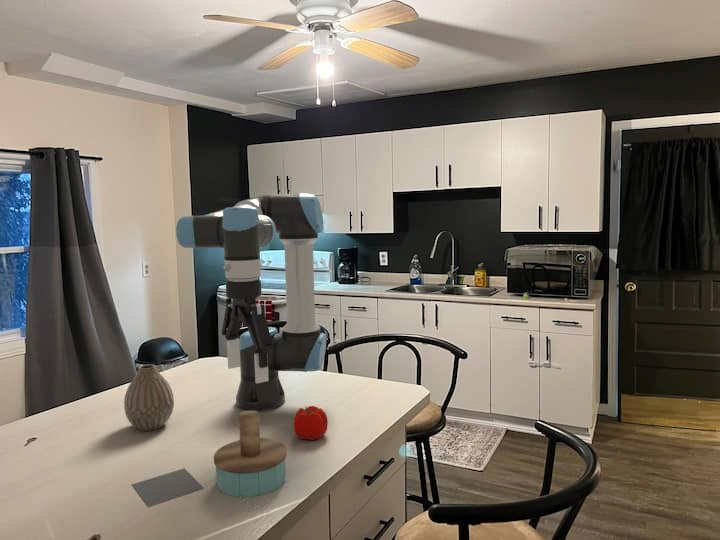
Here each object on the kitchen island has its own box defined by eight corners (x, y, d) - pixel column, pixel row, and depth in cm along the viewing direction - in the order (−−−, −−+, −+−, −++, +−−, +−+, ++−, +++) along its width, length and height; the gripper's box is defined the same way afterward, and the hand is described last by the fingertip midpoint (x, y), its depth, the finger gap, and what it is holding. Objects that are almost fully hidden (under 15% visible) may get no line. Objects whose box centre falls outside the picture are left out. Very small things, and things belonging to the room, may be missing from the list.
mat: (131, 486, 124) (131, 484, 124) (184, 469, 131) (184, 468, 131) (148, 508, 115) (147, 507, 115) (204, 489, 122) (204, 488, 122)
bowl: (207, 478, 127) (205, 454, 126) (266, 459, 136) (265, 436, 135) (235, 506, 115) (234, 479, 114) (298, 483, 124) (297, 458, 124)
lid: (202, 454, 126) (200, 412, 125) (265, 435, 136) (264, 396, 135) (232, 481, 114) (230, 435, 113) (300, 458, 123) (298, 415, 122)
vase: (117, 427, 158) (113, 367, 156) (161, 414, 167) (157, 357, 165) (139, 440, 149) (134, 376, 147) (183, 425, 158) (180, 365, 156)
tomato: (312, 427, 155) (312, 401, 154) (334, 436, 149) (333, 409, 148) (285, 437, 149) (284, 410, 148) (306, 447, 143) (306, 419, 142)
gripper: (204, 275, 128) (208, 365, 130) (253, 287, 108) (258, 392, 111) (234, 272, 132) (238, 359, 135) (287, 283, 113) (291, 384, 115)
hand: (247, 374), depth 123 cm, fingers open, 13 cm apart
